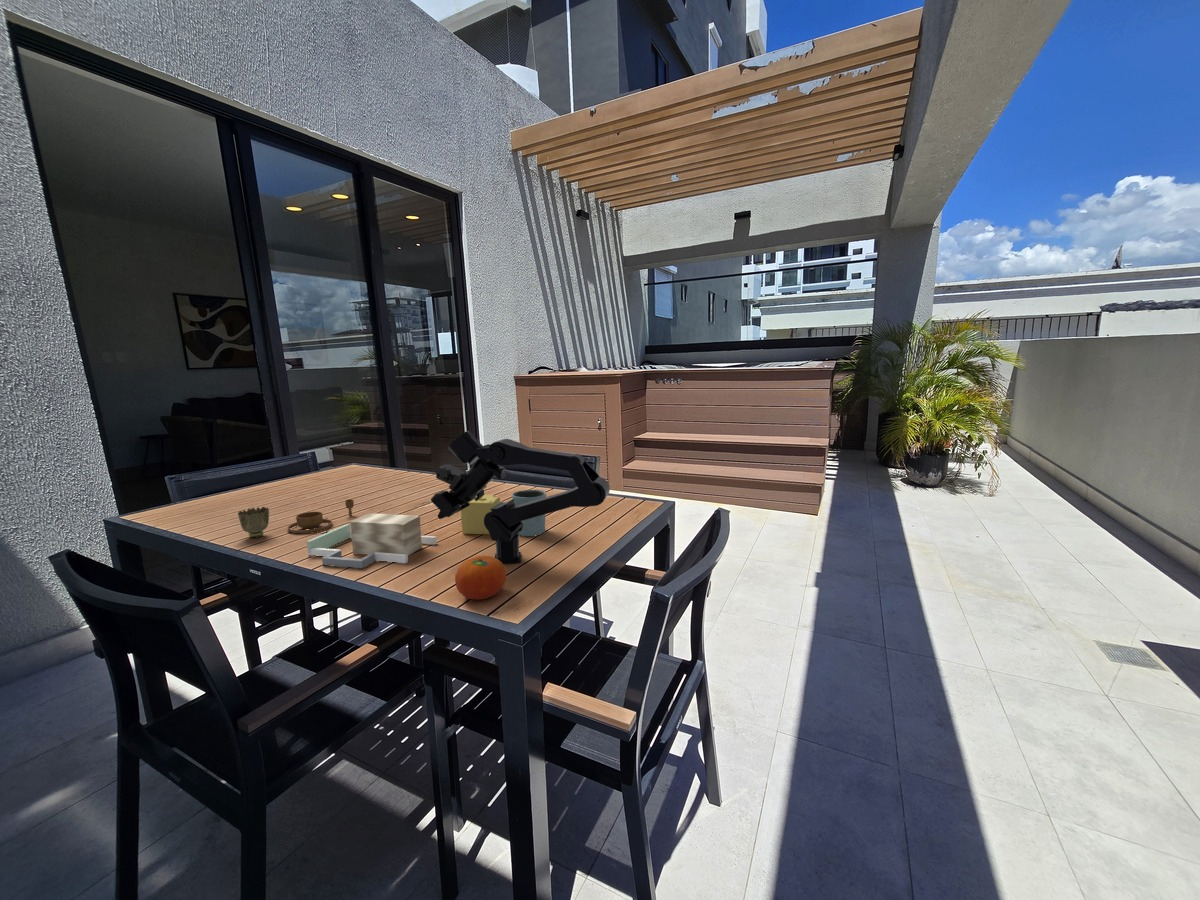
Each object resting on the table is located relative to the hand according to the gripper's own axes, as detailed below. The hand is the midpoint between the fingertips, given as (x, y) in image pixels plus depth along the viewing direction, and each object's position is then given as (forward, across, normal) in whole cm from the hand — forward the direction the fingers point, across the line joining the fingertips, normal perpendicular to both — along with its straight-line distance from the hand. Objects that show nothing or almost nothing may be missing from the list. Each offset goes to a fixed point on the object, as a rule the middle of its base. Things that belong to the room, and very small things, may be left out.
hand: (439, 517), depth 126 cm
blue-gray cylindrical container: (-5, -22, +19) cm, 29 cm away
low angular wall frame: (+20, 0, -6) cm, 21 cm away
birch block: (+18, 0, -4) cm, 19 cm away
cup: (+50, -3, -35) cm, 61 cm away
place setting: (+42, -16, -26) cm, 52 cm away
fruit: (-7, +20, +22) cm, 31 cm away
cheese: (+6, -22, +9) cm, 24 cm away
